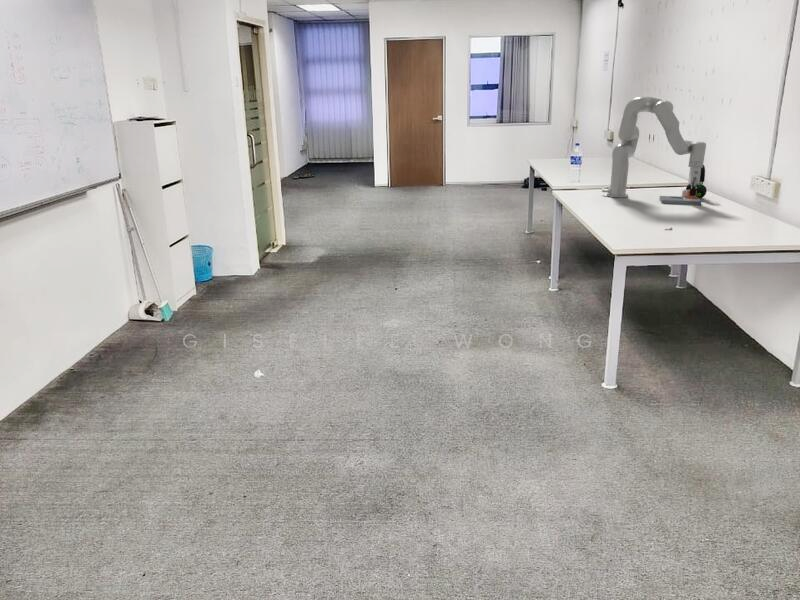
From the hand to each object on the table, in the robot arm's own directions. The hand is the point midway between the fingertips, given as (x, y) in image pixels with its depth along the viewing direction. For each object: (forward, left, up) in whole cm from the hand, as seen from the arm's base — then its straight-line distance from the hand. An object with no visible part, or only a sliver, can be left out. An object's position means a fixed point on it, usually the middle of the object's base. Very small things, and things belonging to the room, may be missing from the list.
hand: (691, 194), depth 366 cm
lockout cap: (0, 0, -3) cm, 3 cm away
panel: (-5, +3, -5) cm, 8 cm away
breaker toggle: (-3, +7, -3) cm, 8 cm away
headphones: (+5, +21, -5) cm, 22 cm away
